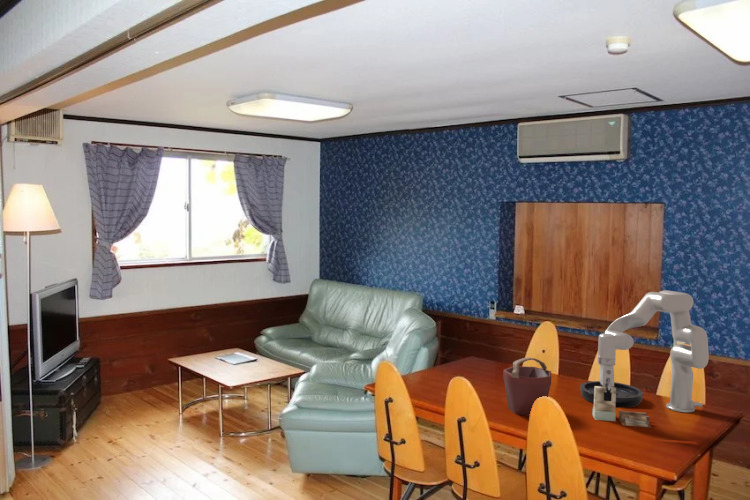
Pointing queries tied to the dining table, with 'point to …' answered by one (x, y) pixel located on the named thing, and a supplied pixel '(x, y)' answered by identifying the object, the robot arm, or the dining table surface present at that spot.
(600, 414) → the slotted stand
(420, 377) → the dining table surface
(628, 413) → the rack
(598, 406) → the birch board
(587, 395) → the round tray
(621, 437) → the dining table surface
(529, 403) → the bucket
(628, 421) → the offcut stack
